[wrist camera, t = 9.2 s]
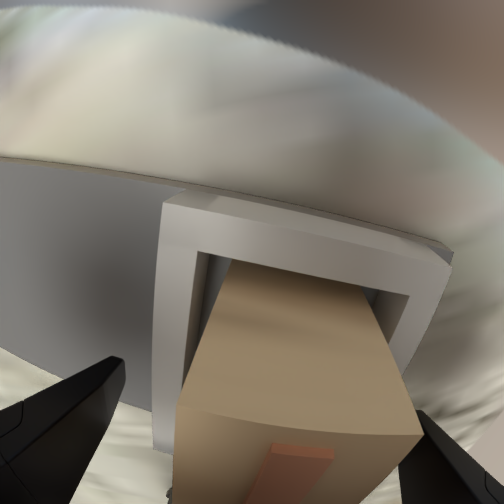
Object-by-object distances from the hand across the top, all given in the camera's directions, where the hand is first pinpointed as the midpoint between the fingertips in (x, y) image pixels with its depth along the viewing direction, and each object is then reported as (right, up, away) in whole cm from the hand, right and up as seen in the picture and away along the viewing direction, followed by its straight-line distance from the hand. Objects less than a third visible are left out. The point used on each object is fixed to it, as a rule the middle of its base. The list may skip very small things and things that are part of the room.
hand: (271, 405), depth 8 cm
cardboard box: (0, +1, +2) cm, 2 cm away
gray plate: (-5, +2, +3) cm, 6 cm away
